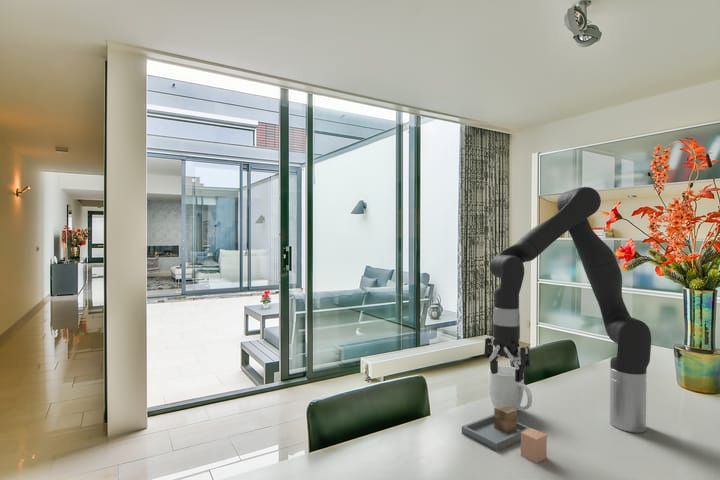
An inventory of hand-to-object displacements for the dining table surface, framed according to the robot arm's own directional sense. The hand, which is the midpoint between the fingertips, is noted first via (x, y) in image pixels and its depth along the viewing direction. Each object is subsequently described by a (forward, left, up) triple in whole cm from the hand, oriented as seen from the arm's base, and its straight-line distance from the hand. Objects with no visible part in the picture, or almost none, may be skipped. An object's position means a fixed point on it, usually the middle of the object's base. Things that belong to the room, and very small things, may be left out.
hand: (506, 377), depth 119 cm
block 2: (+6, +13, -16) cm, 21 cm away
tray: (+4, 0, -16) cm, 16 cm away
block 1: (0, 0, -15) cm, 15 cm away
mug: (-13, -8, -16) cm, 22 cm away
